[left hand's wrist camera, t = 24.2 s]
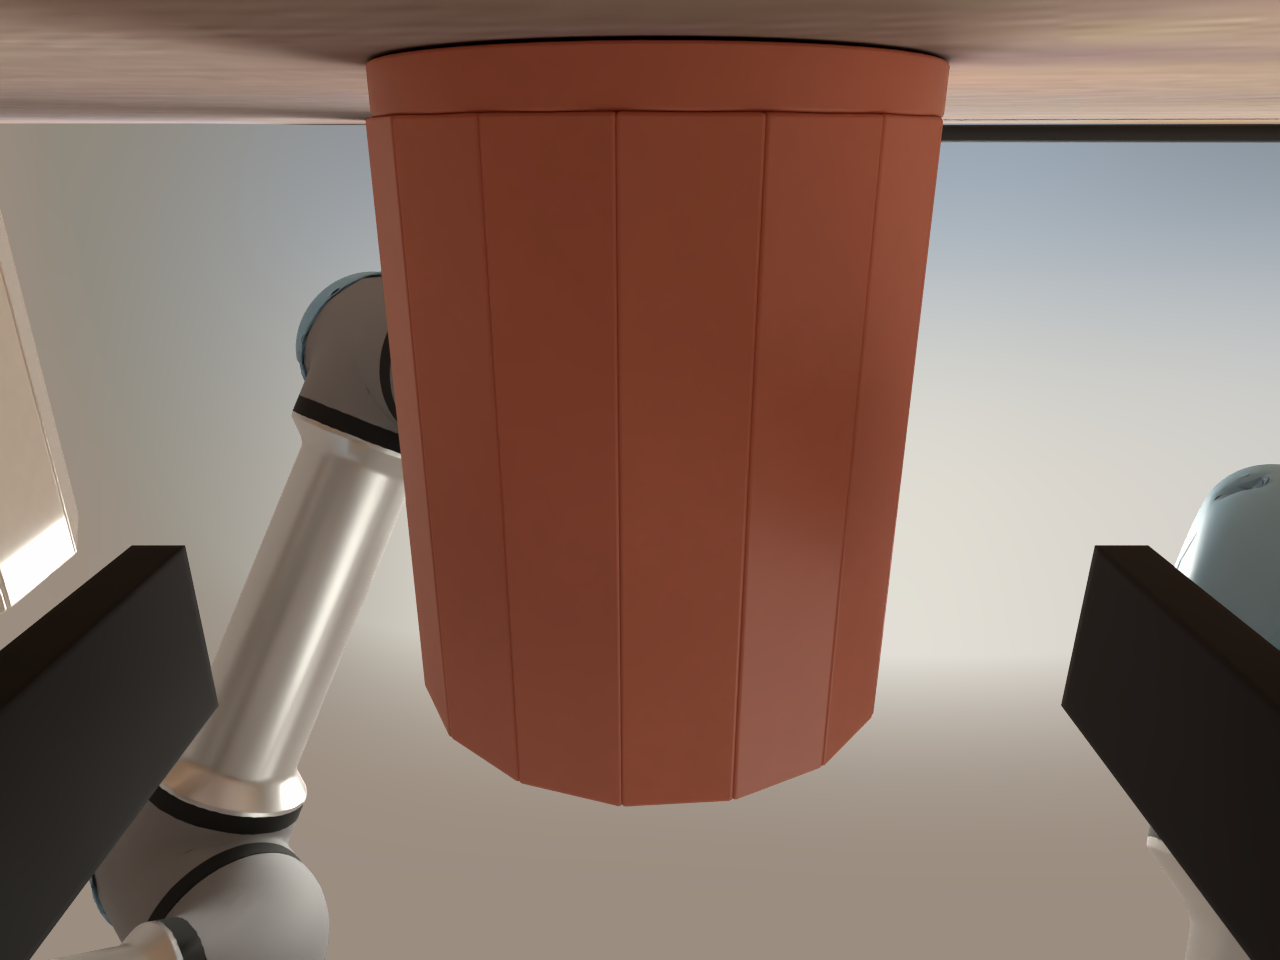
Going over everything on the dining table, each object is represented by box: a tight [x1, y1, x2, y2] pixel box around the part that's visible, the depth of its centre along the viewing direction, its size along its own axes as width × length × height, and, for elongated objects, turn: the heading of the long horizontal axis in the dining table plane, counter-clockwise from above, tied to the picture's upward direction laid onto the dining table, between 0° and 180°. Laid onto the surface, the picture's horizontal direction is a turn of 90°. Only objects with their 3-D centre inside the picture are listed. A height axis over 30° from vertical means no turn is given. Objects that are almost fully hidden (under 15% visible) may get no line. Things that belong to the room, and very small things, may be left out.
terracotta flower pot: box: [366, 40, 949, 806], centre depth 16 cm, size 9×9×11 cm
